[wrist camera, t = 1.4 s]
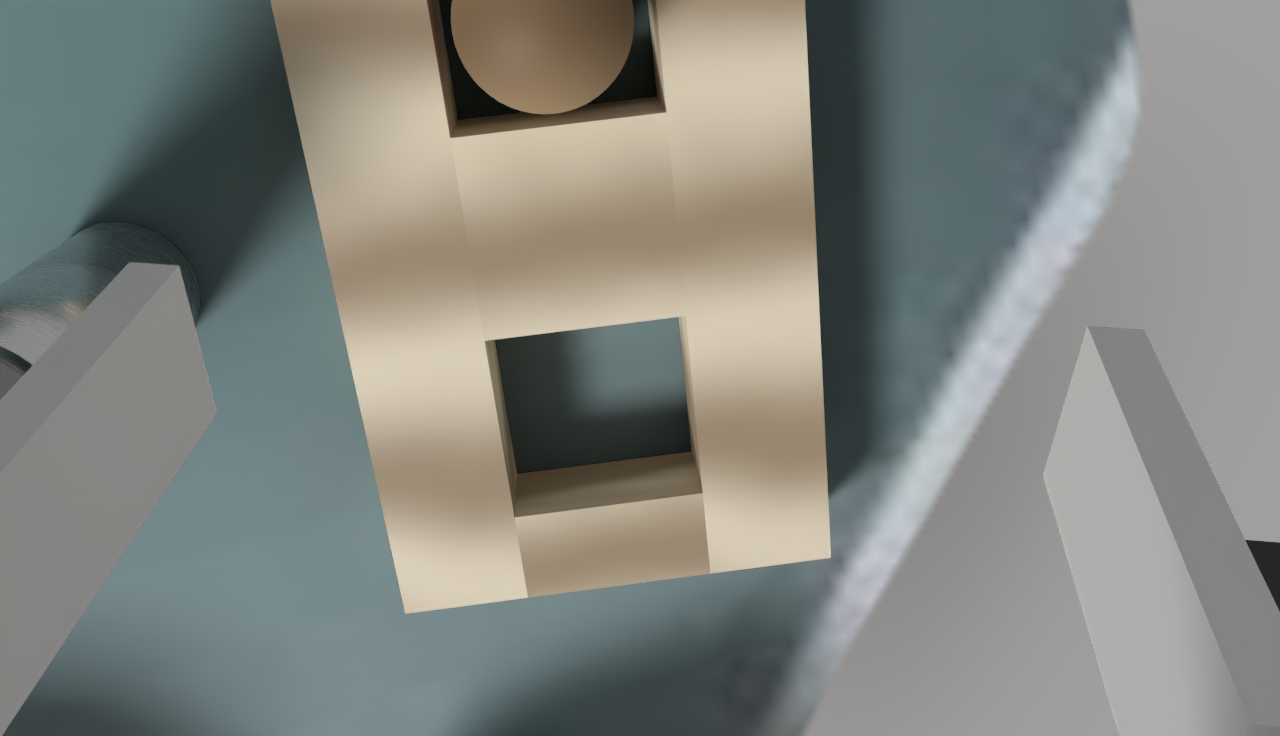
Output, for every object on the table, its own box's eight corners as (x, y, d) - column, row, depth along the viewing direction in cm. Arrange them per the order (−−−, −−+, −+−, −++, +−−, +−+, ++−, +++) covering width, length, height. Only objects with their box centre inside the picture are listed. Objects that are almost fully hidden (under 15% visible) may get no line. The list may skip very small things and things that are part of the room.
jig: (253, -200, 30) (186, -227, 24) (769, -257, 30) (819, -296, 25) (415, 564, 39) (393, 671, 34) (811, 512, 39) (853, 610, 34)
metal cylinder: (29, 228, 34) (-197, 362, 24) (181, 210, 34) (23, 335, 24) (73, 368, 35) (-118, 549, 25) (219, 350, 36) (86, 523, 25)
